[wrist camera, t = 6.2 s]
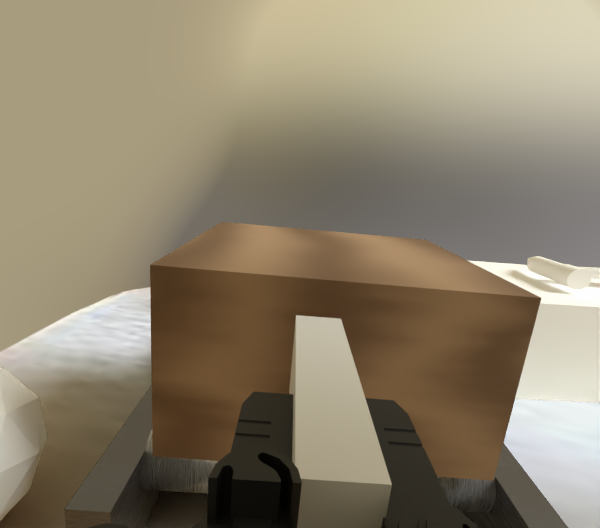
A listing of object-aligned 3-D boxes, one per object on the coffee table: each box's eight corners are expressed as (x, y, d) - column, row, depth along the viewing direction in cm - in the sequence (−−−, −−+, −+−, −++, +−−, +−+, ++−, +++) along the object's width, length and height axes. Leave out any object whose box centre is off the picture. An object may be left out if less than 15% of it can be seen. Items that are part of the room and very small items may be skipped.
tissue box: (411, 326, 43) (427, 237, 40) (603, 338, 45) (630, 253, 42) (474, 400, 29) (505, 271, 26) (749, 412, 31) (803, 293, 28)
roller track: (384, 327, 41) (390, 290, 40) (552, 623, 14) (584, 533, 13) (223, 314, 41) (224, 276, 40) (71, 594, 14) (63, 497, 12)
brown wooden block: (407, 346, 26) (426, 239, 25) (493, 480, 15) (541, 297, 13) (217, 330, 26) (221, 222, 24) (152, 456, 14) (150, 264, 13)
